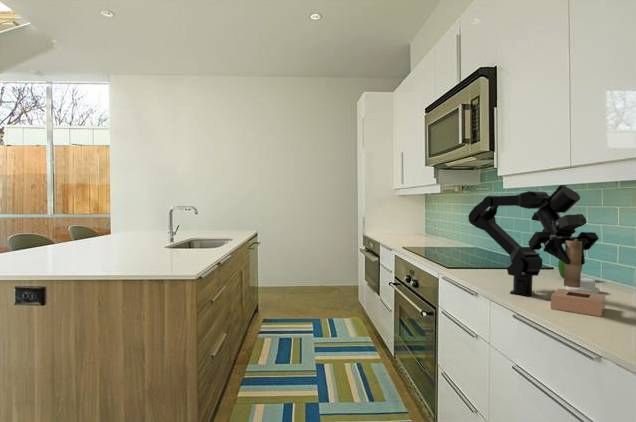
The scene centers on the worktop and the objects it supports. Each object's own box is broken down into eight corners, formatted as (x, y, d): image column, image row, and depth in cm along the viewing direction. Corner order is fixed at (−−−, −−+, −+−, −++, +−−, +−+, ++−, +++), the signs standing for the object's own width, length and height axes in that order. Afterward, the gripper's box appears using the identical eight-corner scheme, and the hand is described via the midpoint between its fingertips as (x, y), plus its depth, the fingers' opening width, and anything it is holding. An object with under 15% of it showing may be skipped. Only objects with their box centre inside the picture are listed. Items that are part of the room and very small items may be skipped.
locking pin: (565, 283, 120) (567, 240, 119) (581, 286, 117) (583, 241, 117) (562, 285, 117) (564, 240, 116) (578, 288, 114) (580, 242, 114)
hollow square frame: (557, 301, 127) (558, 288, 127) (604, 308, 119) (605, 294, 119) (550, 308, 117) (551, 295, 117) (601, 316, 110) (601, 302, 110)
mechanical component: (586, 288, 148) (559, 288, 148) (586, 276, 148) (559, 276, 148) (606, 294, 138) (577, 294, 138) (606, 281, 138) (578, 281, 138)
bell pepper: (584, 281, 160) (584, 256, 160) (560, 279, 163) (560, 254, 163) (578, 277, 168) (579, 253, 168) (556, 276, 171) (557, 252, 171)
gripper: (535, 204, 119) (559, 246, 109) (595, 205, 121) (624, 246, 110) (519, 228, 127) (539, 270, 117) (575, 229, 129) (600, 270, 118)
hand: (576, 263), depth 115 cm, fingers closed on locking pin, 4 cm apart
